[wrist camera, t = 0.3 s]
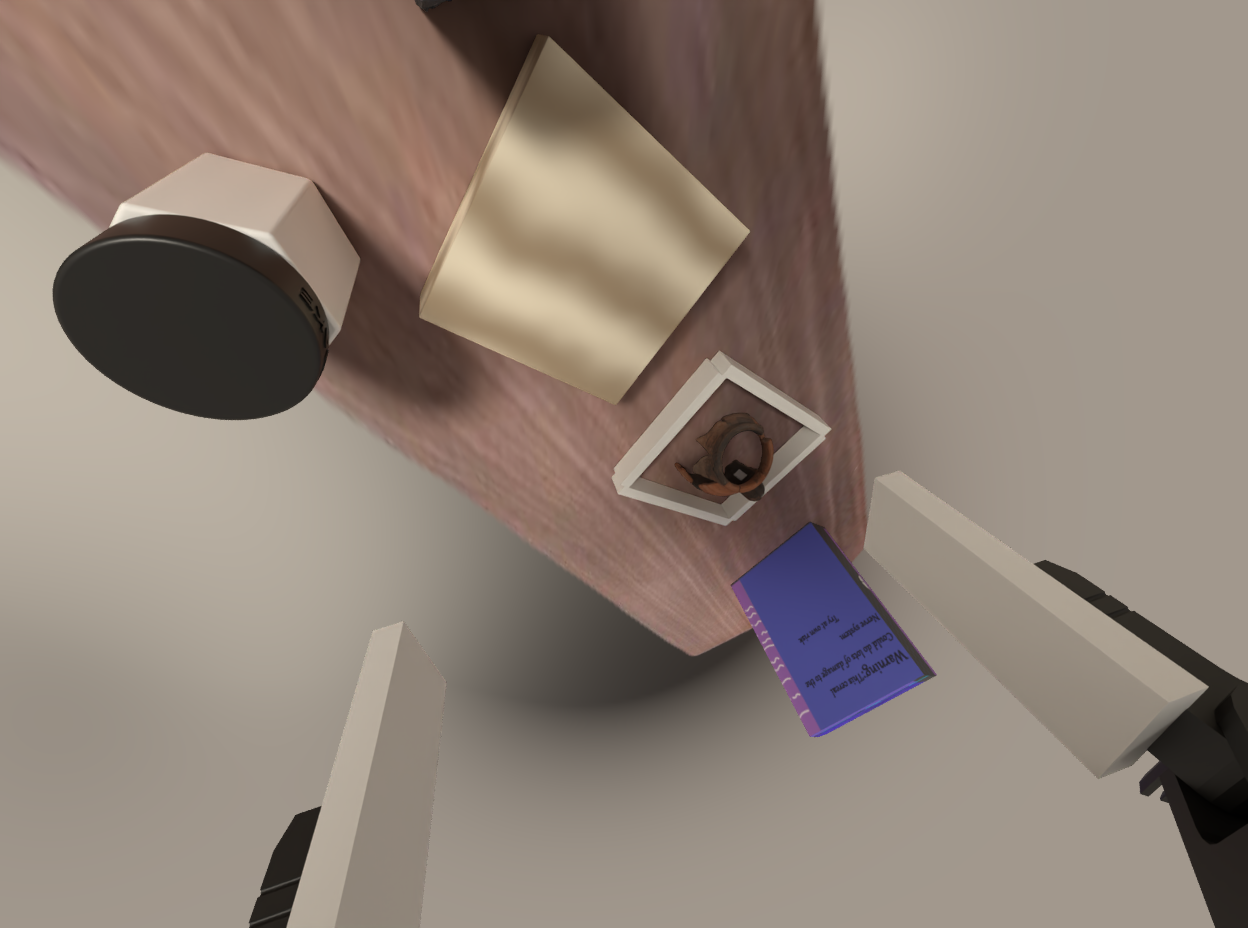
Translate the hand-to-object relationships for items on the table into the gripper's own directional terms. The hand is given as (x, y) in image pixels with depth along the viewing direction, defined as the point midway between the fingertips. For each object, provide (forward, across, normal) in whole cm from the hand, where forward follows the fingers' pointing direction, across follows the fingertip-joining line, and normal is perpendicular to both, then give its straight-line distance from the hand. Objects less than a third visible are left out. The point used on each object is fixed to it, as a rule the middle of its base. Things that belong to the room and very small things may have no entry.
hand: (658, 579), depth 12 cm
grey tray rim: (+32, +14, -18) cm, 40 cm away
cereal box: (+40, +26, -48) cm, 68 cm away
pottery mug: (+32, +14, -18) cm, 40 cm away
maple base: (+26, +3, +5) cm, 27 cm away
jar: (+25, -15, +10) cm, 30 cm away
